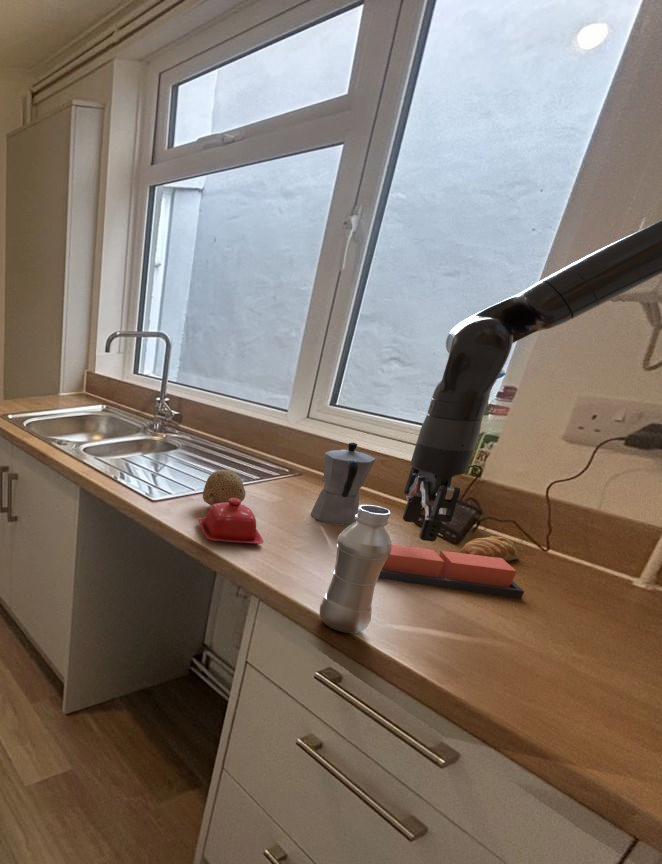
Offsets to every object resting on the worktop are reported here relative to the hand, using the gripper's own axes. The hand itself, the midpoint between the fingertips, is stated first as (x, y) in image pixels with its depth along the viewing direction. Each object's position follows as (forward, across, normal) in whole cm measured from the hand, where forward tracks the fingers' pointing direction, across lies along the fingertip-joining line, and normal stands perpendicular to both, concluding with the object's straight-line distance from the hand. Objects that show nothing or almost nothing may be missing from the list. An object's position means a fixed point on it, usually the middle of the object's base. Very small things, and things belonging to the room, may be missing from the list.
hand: (417, 530), depth 94 cm
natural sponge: (+9, +22, +31) cm, 39 cm away
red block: (+8, 0, -10) cm, 13 cm away
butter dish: (+9, +7, +30) cm, 32 cm away
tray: (+9, 0, -4) cm, 10 cm away
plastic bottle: (+9, -23, +15) cm, 29 cm away
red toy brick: (+8, 0, 0) cm, 8 cm away
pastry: (+9, +13, -17) cm, 24 cm away
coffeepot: (+9, +24, +7) cm, 27 cm away
